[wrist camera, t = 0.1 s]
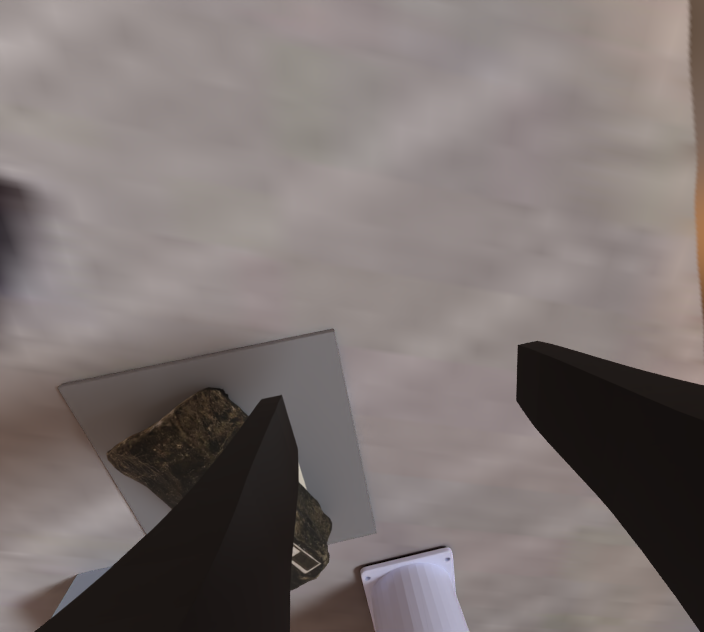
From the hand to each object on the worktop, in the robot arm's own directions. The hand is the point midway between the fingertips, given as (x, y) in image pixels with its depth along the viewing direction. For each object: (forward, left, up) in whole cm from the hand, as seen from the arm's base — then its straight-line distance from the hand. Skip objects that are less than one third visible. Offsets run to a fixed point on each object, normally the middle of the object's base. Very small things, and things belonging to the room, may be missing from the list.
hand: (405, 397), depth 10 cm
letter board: (-11, +10, -10) cm, 18 cm away
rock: (-11, +10, -10) cm, 18 cm away
